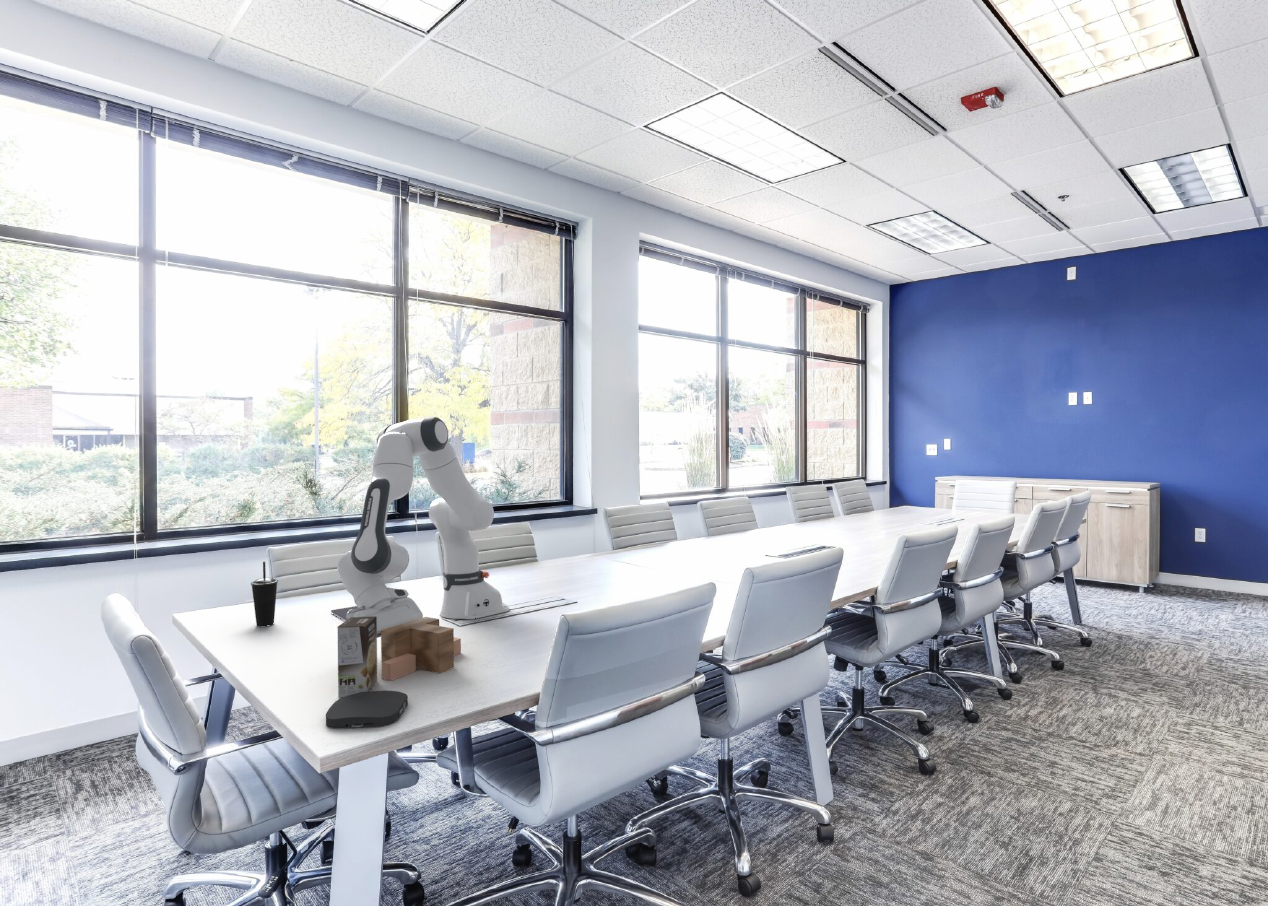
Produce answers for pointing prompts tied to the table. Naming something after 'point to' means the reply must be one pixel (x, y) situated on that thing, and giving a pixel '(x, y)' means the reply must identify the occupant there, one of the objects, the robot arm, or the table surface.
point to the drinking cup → (264, 599)
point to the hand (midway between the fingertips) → (402, 644)
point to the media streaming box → (367, 709)
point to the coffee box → (357, 655)
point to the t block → (420, 644)
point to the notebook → (342, 612)
